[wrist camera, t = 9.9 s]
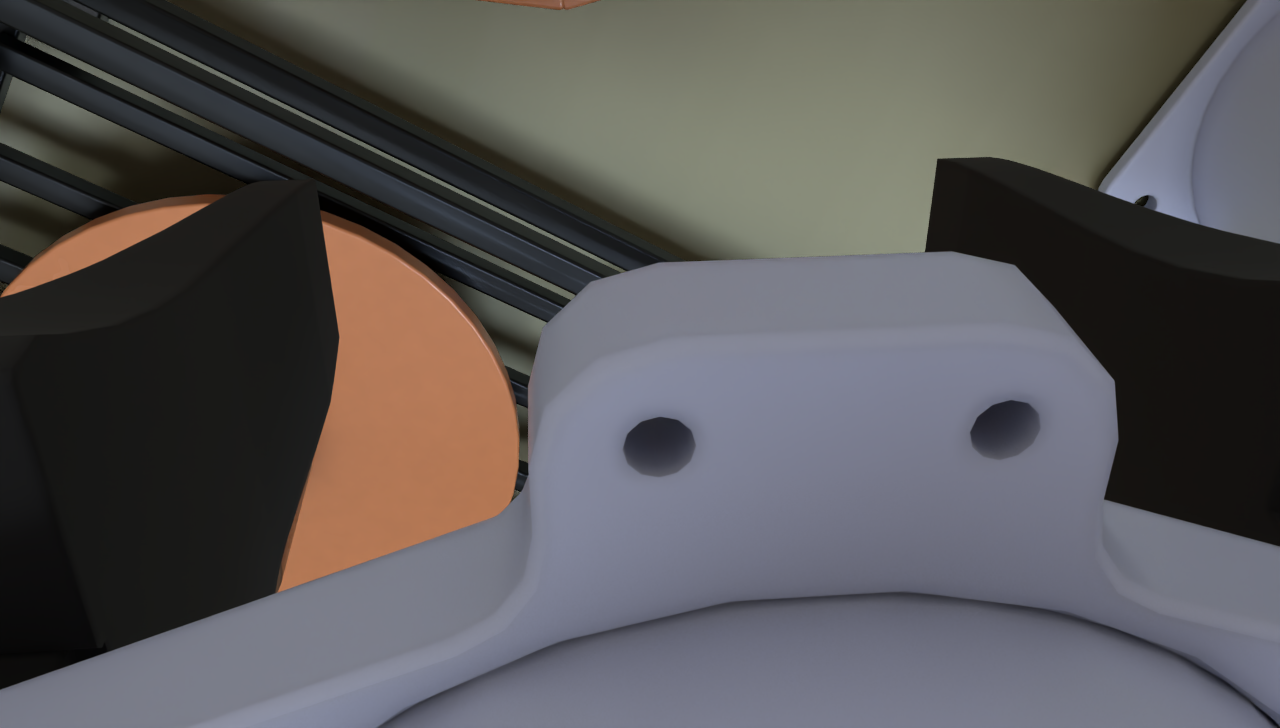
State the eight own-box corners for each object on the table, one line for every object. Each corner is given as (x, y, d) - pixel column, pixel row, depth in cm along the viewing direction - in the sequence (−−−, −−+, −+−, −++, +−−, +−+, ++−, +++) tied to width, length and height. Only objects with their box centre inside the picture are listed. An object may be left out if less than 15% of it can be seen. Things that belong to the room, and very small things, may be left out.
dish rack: (958, 379, 28) (1066, 557, 22) (654, 755, 33) (680, 971, 28) (40, -87, 21) (-132, 2, 15) (-146, 485, 26) (-320, 699, 21)
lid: (610, 326, 24) (629, 461, 20) (392, 670, 28) (371, 838, 24) (82, 78, 20) (-26, 179, 16) (-76, 512, 25) (-192, 678, 21)
